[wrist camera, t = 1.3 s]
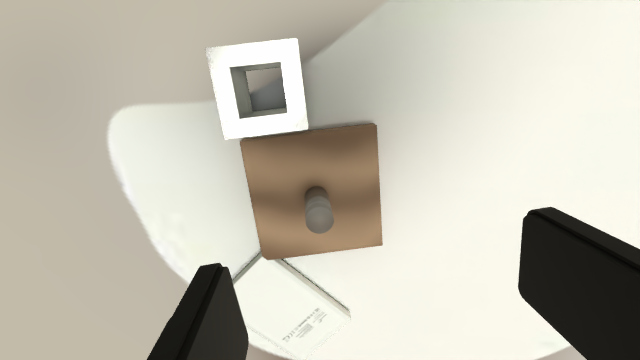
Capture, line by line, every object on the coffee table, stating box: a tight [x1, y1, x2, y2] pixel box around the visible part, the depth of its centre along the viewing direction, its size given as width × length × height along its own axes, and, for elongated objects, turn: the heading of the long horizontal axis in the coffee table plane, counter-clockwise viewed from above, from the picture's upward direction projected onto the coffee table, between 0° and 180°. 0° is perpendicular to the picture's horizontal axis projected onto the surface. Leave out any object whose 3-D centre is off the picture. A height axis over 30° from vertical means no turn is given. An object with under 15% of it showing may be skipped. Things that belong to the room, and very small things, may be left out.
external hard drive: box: [232, 252, 351, 360], centre depth 32 cm, size 2×8×12 cm
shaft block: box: [240, 123, 382, 260], centre depth 26 cm, size 12×12×6 cm
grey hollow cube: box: [205, 38, 309, 140], centre depth 23 cm, size 6×6×6 cm
